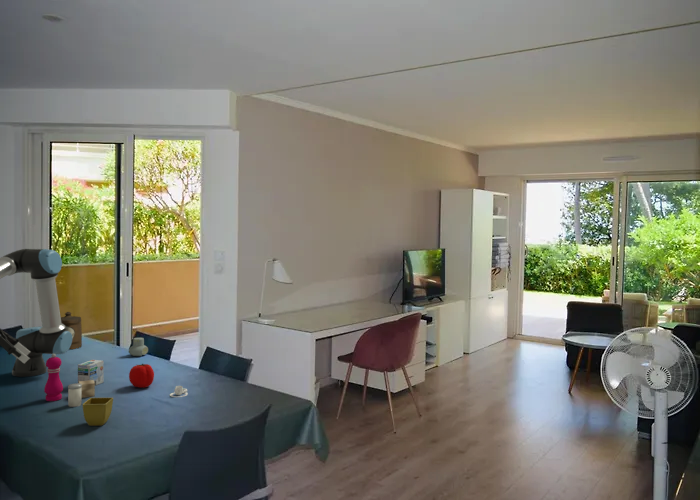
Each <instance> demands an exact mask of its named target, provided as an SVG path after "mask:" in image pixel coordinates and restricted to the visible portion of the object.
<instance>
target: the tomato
mask: <svg viewBox="0 0 700 500" xmlns="http://www.w3.org/2000/svg"><path fill="white" fill-rule="evenodd" d="M128 378H129V382H130V384H131V385H132V386H133V387H135V388H139V389H140V388H147V387H148V388H149V386H151V385H152V384H153V382H154V380H155V371H154V369H153V367H152V365H150V364H147V363H141V364H135V365H134V366H133V367H131V369H130V370H129V373H128Z"/></svg>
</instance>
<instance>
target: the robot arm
mask: <svg viewBox="0 0 700 500" xmlns="http://www.w3.org/2000/svg"><path fill="white" fill-rule="evenodd" d="M61 257H62V256H61V255H60V253H58V252H57V251H56V250H54V249H48V248H21V249H17V250H15V251H12V252H9V253H8V254H4V255H3V256H1V257H0V280H1V279H3V278H4V277H6V276H12V275H15V274H18V273H19V274H20V273H21V274H22V273H24V274H25V273H26V274H27V273H28V274H30V278H31V280H33V281H35V282H34V283H35V286H36V295H37V301H38V307H39V313H40V314H39V315H40V320H41V326H32V327H31V326H30V327H26V328H20V329H18V330H17V331H16V333H15V334H16V335H15V337H13V336H12V335H10V334H9V333H7V332H6V331H4V330H3V329H2V328H0V346H1V348H3V349H4V350H5V351H6V352H7V355H9V356H11V355H12V356H13V357H15V362H14V363H13V364H14V365H13V367H12V370H11V375H12V376H13V377H22V378H23V377H27V378H28V377H34V376H39V375H43V374H45V373H46V372H47V366H46V362H45V360H44V357H43V354H44V355H45V354H47V355H52V354H56V355H63V354H65V353H67V352H68V351H69V348H70V346H71V343H72V334H71V333H70V332H69V331H66V328H65V325H64V324H62V323H61V313H60V312H61V311H60V304H59V303H60V302H59V297H58V290H57V289H58V288H57V284H56V282H57V281H56V279H57V277H58V275H59V273H60V272H61V270H62V266H63V262H62V261H63V260H62V258H61Z"/></svg>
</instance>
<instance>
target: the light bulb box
mask: <svg viewBox="0 0 700 500" xmlns="http://www.w3.org/2000/svg"><path fill="white" fill-rule="evenodd" d="M104 365H105V363H104V360H100V359H99V360H98V359H90V360H88V361H85V362H81V363H79V364H77V383H79V381H88V380H94V383H95V387H96V386H99V385H101V384H102V383H103V384H104V372H105V371H104Z"/></svg>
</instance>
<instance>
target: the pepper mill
mask: <svg viewBox="0 0 700 500" xmlns="http://www.w3.org/2000/svg"><path fill="white" fill-rule="evenodd" d="M45 365H46V372H47V373H48V376H47V377H48V378H47V380H46V383H45V385H44V390H43V392H44V393H45V401H47V402H56V401H59V400H61V399H62V398H63V394H62V392H63V391H64V385H63V383H62V381H61V378H60V372H61V365H62V359H61V358H60V357H57V354H50V357H49V358H47V359H46V362H45Z"/></svg>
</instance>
